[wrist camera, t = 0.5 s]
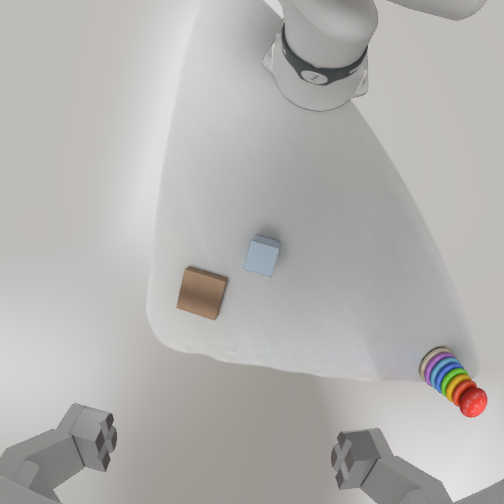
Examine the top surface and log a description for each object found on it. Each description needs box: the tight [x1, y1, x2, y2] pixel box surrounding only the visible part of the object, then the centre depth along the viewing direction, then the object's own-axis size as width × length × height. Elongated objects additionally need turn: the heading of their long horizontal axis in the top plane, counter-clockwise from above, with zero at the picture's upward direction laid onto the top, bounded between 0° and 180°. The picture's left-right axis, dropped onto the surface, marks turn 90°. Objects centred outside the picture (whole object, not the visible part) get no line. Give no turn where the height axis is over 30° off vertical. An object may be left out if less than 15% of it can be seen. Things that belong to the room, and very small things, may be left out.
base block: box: [176, 266, 228, 320], centre depth 53 cm, size 7×7×3 cm
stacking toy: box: [420, 348, 487, 417], centre depth 43 cm, size 8×8×19 cm
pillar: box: [243, 235, 280, 277], centre depth 47 cm, size 4×4×10 cm
